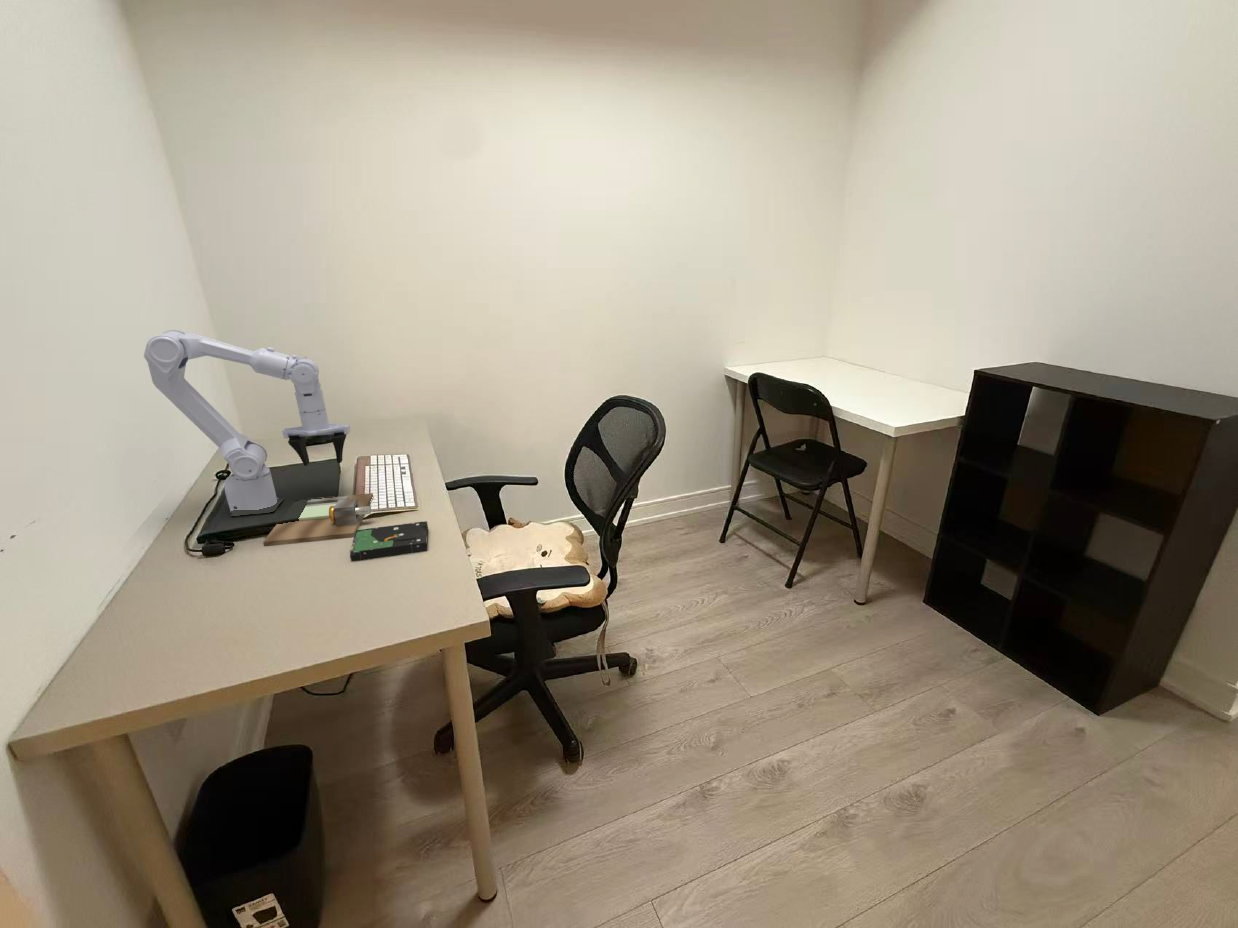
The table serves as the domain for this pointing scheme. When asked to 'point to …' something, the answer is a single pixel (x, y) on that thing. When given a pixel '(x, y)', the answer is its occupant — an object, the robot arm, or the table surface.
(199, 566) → the table surface
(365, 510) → the pin
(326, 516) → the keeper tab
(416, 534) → the disk drive
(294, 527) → the board
